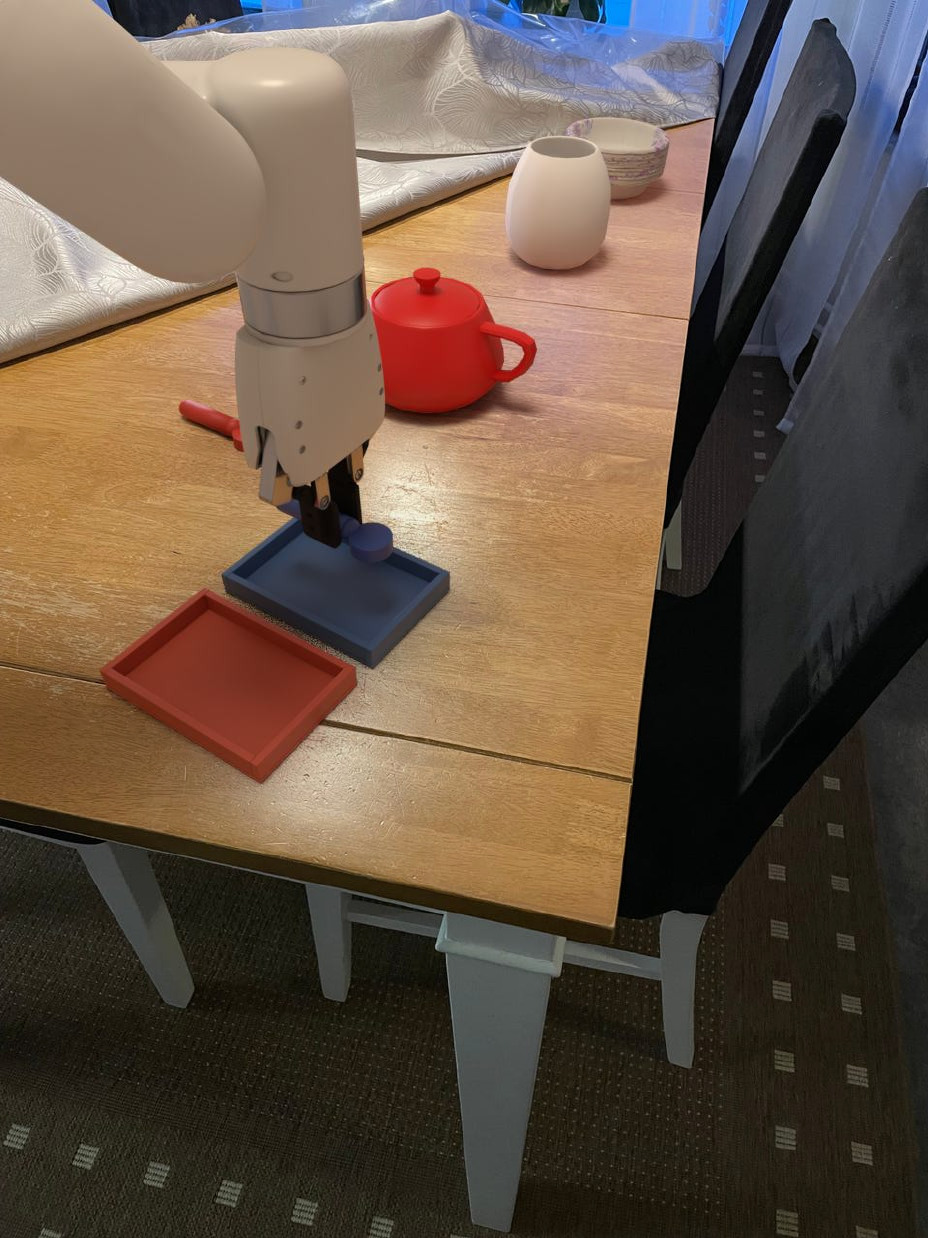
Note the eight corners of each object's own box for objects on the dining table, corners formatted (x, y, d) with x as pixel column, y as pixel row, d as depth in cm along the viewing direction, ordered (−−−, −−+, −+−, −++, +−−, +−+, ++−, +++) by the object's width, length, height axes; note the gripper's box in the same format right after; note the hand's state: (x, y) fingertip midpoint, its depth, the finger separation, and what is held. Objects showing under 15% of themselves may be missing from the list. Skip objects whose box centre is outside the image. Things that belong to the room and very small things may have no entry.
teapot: (559, 378, 93) (570, 265, 85) (500, 453, 84) (506, 334, 75) (356, 327, 101) (347, 218, 92) (279, 391, 91) (262, 275, 82)
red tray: (106, 687, 62) (98, 670, 61) (208, 604, 69) (204, 586, 67) (261, 783, 57) (256, 766, 56) (357, 684, 63) (355, 666, 62)
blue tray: (225, 591, 70) (220, 573, 68) (308, 524, 76) (306, 506, 74) (372, 668, 64) (371, 651, 63) (450, 589, 70) (450, 571, 69)
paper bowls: (675, 204, 129) (686, 146, 123) (576, 210, 127) (582, 150, 121) (642, 168, 139) (650, 113, 134) (549, 173, 137) (554, 117, 132)
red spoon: (171, 420, 87) (167, 404, 85) (195, 406, 89) (191, 390, 87) (252, 456, 83) (249, 439, 81) (274, 440, 85) (272, 424, 83)
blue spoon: (264, 517, 67) (261, 498, 66) (292, 495, 69) (289, 476, 67) (376, 568, 63) (374, 549, 62) (402, 544, 65) (401, 525, 63)
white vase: (622, 270, 113) (639, 157, 103) (530, 286, 109) (538, 171, 99) (574, 231, 121) (585, 124, 112) (487, 245, 118) (491, 135, 108)
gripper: (337, 236, 59) (358, 463, 72) (161, 330, 49) (222, 571, 62) (429, 263, 56) (434, 494, 69) (261, 368, 47) (303, 613, 60)
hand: (333, 529), depth 66 cm, fingers closed on blue spoon, 1 cm apart
